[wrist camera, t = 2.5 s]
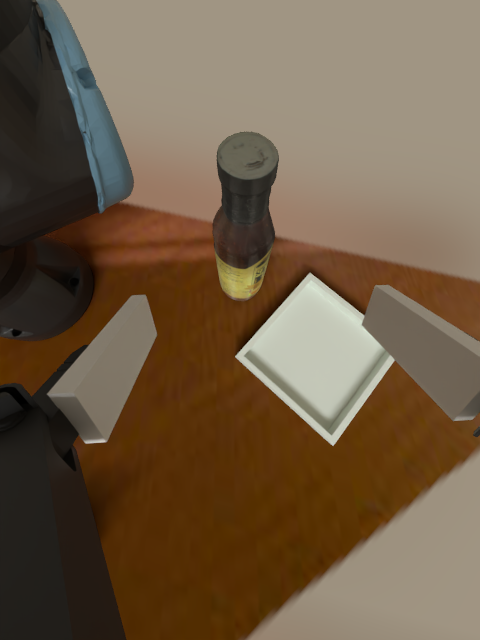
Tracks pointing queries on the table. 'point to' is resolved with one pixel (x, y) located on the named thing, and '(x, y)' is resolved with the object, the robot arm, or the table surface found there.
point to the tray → (317, 357)
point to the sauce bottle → (244, 213)
